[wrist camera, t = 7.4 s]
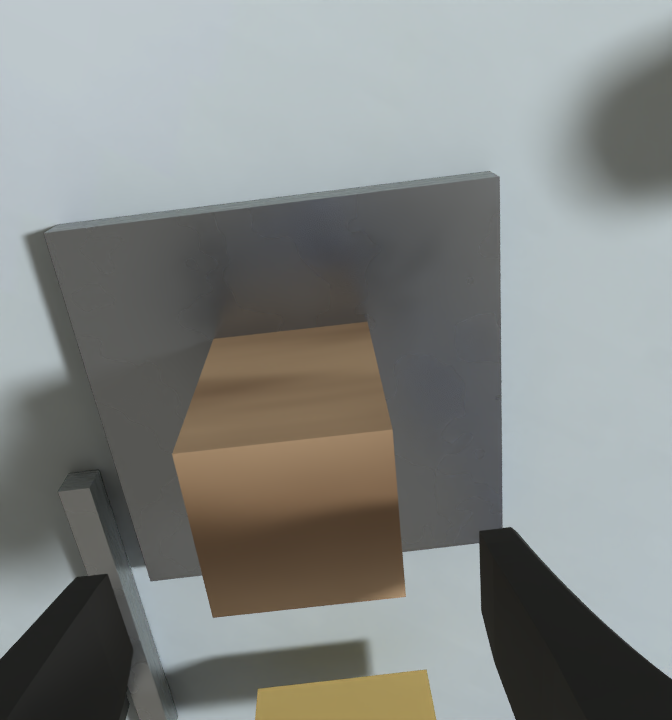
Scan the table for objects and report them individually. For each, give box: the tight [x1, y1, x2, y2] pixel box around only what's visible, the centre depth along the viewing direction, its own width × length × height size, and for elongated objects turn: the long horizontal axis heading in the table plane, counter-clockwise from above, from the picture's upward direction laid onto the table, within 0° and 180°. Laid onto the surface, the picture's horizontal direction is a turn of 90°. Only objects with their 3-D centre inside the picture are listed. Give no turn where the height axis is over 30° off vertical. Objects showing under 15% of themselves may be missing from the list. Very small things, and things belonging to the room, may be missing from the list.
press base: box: [44, 171, 502, 720], centre depth 21 cm, size 20×14×1 cm
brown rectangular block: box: [172, 322, 406, 618], centre depth 17 cm, size 6×4×6 cm
